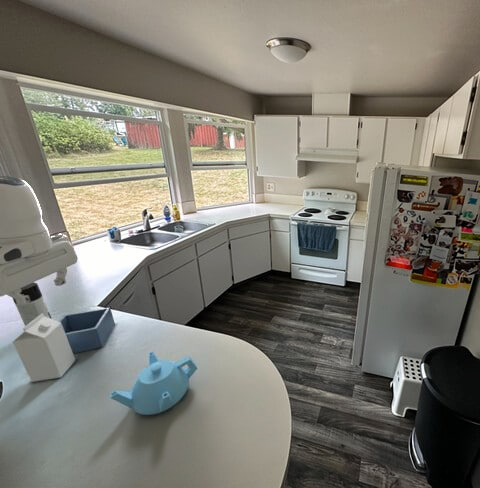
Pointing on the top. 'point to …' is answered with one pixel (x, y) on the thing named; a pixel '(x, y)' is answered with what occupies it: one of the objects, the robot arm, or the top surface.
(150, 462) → the top surface
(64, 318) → the tub
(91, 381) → the top surface
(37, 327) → the milk carton
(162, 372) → the teapot
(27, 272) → the robot arm
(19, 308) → the spray can
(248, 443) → the top surface
